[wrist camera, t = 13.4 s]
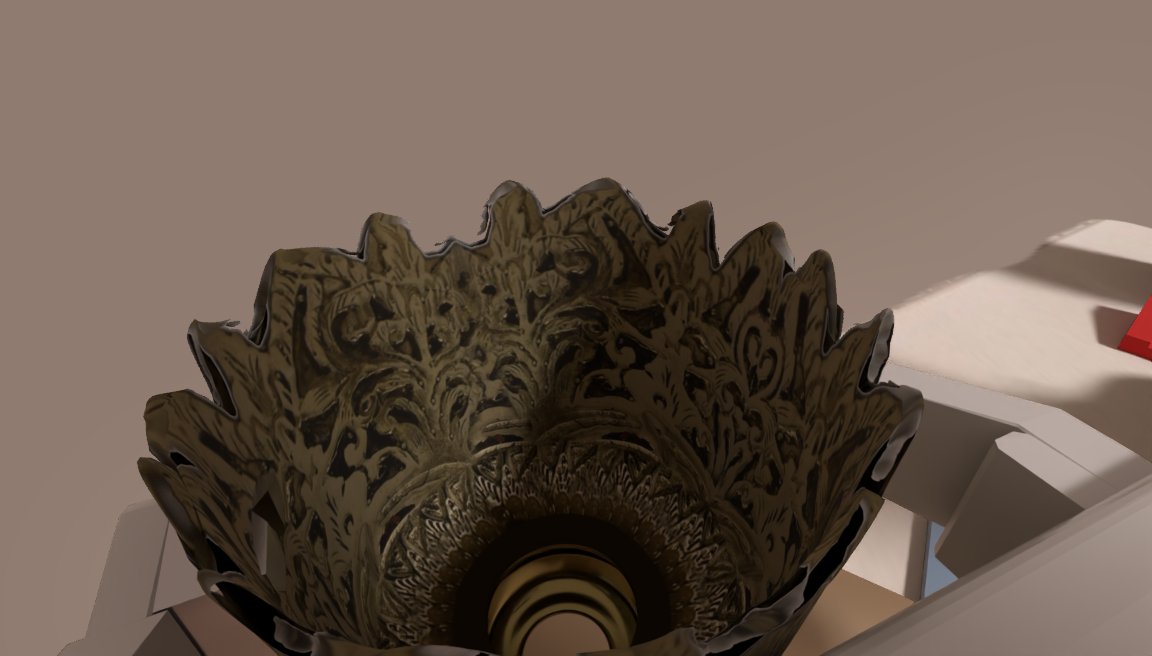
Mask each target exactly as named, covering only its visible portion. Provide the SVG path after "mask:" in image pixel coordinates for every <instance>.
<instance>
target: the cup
mask: <svg viewBox="0 0 1152 656" xmlns="http://www.w3.org/2000/svg"><path fill="white" fill-rule="evenodd" d="M488 206H489V209H490V222H489V226H488V230H487V233H486V236H485V238H484V239H483V240H480V241H477V242H473V243H471V244H468V243H465V242H463V241H460V240H458V239H456V238H454V236H452V235H451V236H448V237H447V238H446V239H445V240H444V241H443V242H442V243H444V242H446V241H447V242H446V243H445V244H444V246H443V247H442V248H441V249H439V250H438V251H430V252H423V251H422V250H421V249H420V247H419V246H418V245H417V244H416V242H415V241H414V240H413V237H412V235H411V230H410V229H409V228H408V227H406V226H405V224H410V222H408V221H407V220H405V219H403V218H401V217H397V216H392V215H387V214H384V213H380V212H378V213H374V214H372V215H370V217H369V218H368V219H367V221H366V222H365V224H364V226H363V228H362V230H361V234H360V239H359V242H358V248H357V252H349V251H347V250H344V249H340V248H329V247H312V248H297V249H290V250H284V249H279V250H277V251H275V252H274V253H272V255H271V256H270V258H269V260H268V262H267V264H266V266H265V269H264V272H263V275H262V278H261V281H260V285H259V288H258V292H257V296H256V300H255V303H254V318H253V322H252V326H251V328H250V331H249V332H248V331H247V330H246V331H245V332H244V333H242V332H241V331H240V330H238V329H229V328H226V327H224V326H225V325H226V326H230V327H234V326H236V325H238V324H239V323H240V321H234V322H229V323H227V322H228V321H229V320H225V321H222V322H216V323H208V322H199V321H197V320H194V321H193V322H192V323H191V325H190V327H189V330H188V334H187V339H188V343H189V346H190V349H191V351H192V353H193V355H194V358H195V360H196V361H197V364H198V366H199V367H200V370H201V372H202V374H203V377H204V378H205V380H206V382H207V384H208V387H209V389H210V392H211V394H212V396H213V400H214V402H212V401H210V400H209V399H207V397H205V396H202V395H200V394H197V393H195V392H194V391H192V390H189V389H185V390H181V391H176V392H170V393H164V394H159V395H155V396H152V397H151V398H150V399H149V400H148V401H147V404H146V409H145V412H144V416H143V417H144V419H145V421H146V436H147V441H148V445H149V450H150V452H151V453H152V454H153V455H154V456H155V457H156V458H157V459H158V460H159V461H160V462H161V463H160V462H158V461H157V460H155V459H152V458H142V457H140V458H139V460H138V462H137V464H138V469H139V472H140V474H141V476H142V479H143V480H144V482H145V484H146V485H147V487H148V489H149V491H150V492H151V494H152V495H153V497H154V499H155V500H156V502H157V504H158V505H159V507H160V508H161V510H162V511H163V513H164V514H165V516H166V517H167V519H168V520H169V522H170V523H171V525H172V526H173V528H174V529H175V531H176V533H177V535H178V537H179V540H180V542H181V544H182V546H183V549H184V551H185V553H186V556H187V558H188V559H189V561H190V562H191V563H192V564H193V566H194V567H196V569H197V570H198V571H197V581H198V582H199V584H200V586H201V589H202V590H203V591H204V593H205V594H206V595H207V596H208V597H209V598H210V599H212V600H213V601H214V602H215V603H216V604H217V605H219V606H220V607H221V608H222V609H223V610H224V611H226V612H227V613H228V614H230V615H231V616H232V617H234V618H235V619H236V620H237V621H239V622H240V623H241V624H243V625H244V626H245V627H246V628H248V629H249V630H250V631H252V632H253V633H254V634H255V635H256V636H258V637H259V638H260V639H261V640H262V641H263V642H264V643H265V644H266V645H267V646H268V647H269V648H271V649H272V650H273V651H274V652H275V653H276V654H277V655H278V656H523V654H524V649H525V645H526V642H527V640H528V638H529V636H530V635H531V633H532V632H533V630H534V629H535V628H536V627H537V626H538V625H539V624H540V623H542V622H543V621H544V620H546V619H548V618H550V617H552V616H555V615H559V614H567V613H569V614H577V615H581V616H583V617H586V618H588V619H590V620H591V621H593V622H594V623H595V624H596V625H597V626H598V627H599V628H600V629H601V631H602V632H603V634H604V635H605V637H606V640H607V642H608V645H609V650H603V651H594V652H583V653H576V656H782V654H783V653H784V651H785V650H786V648H787V647H788V645H789V644H790V643H791V641H792V640H793V638H794V636H795V635H796V633H797V632H798V630H799V629H800V627H801V626H802V624H803V623H804V621H805V620H806V618H807V616H808V615H809V613H810V612H811V610H812V609H813V607H814V606H815V604H816V602H817V601H818V599H819V598H820V596H821V595H822V593H823V591H824V590H825V588H826V587H827V585H829V584H830V583H831V582H832V580H833V579H834V578H835V577H836V576H837V574H838V573H839V571H840V570H841V569H842V567H843V566H844V565H845V563H846V562H847V560H848V559H849V557H850V556H851V554H852V553H853V552H854V550H855V549H856V547H857V546H858V544H859V543H860V542H861V540H862V538H863V537H864V535H865V534H866V532H867V530H868V529H869V527H870V526H871V524H872V523H873V521H874V519H875V518H876V516H877V514H878V512H879V511H880V509H881V507H882V505H883V503H884V501H885V499H883V498H882V496H883V494H884V492H885V490H886V488H887V486H888V484H889V482H890V480H891V478H892V476H893V475H894V473H895V471H896V469H897V467H898V465H899V464H900V462H901V460H902V458H903V456H904V455H905V453H906V451H907V450H908V448H909V446H910V444H911V442H912V440H913V439H914V437H915V435H916V432H917V429H918V427H919V424H920V422H921V419H922V415H923V411H924V406H925V404H924V399H923V395H922V392H921V391H920V390H919V389H916V388H913V387H909V386H907V385H900V386H899V385H897V384H895V383H894V382H892V381H891V380H889V381H888V383H886V382H879V380H880V377H881V374H882V371H883V369H884V367H885V365H886V362H887V360H888V358H889V353H890V342H891V338H892V335H893V328H894V315H893V311H892V310H891V309H890V308H889V309H888V308H887V309H884V310H883V311H882V312H881V313H879V314H877V315H876V316H875V317H874V318H873V319H872V320H871V321H869V322H866V323H863V324H859V323H856V326H855V327H853V328H850V330H848V331H847V332H846V333H845V334H844V335H843V336H842V337H841V332H842V324H843V319H844V318H843V313H844V312H843V309H842V308H841V307H840V306H839V305H838V304H837V294H836V280H835V272H834V267H833V262H832V259H831V256H830V254H829V253H828V252H826V251H824V250H821V249H820V250H817V251H815V252H813V253H812V254H811V255H810V257H809V258H808V260H807V261H806V262H805V264H804V265H803V266H802V267H799V268H798V270H797V271H796V273H795V271H794V261H795V258H794V256H793V254H792V252H791V250H790V248H789V246H788V243H787V240H786V237H785V233H784V230H783V228H782V227H781V226H780V225H779V224H778V223H777V222H769V223H767V224H765V225H763V226H761V227H759V228H757V229H755V230H753V231H751V232H749V233H748V234H746V235H745V236H744V237H743V238H742V239H740V240H739V241H738V242H737V243H736V244H735V245H734V246H733V247H732V248H731V249H730V250H729V251H728V252H727V254H726V255H725V257H724V258H725V259H724V260H723V262H722V263H721V265H720V263H719V255H718V252H717V249H716V243H715V224H714V223H715V222H714V213H713V207H712V204H711V202H710V201H699V202H697V203H695V204H693V205H690V206H688V207H686V208H683V209H680V210H678V212H677V213H676V214H675V215H673V216H672V219H671V222H670V223H669V224H668V225H669V226H674V225H675V226H674V227H673V229H672V231H671V232H670V234H669V235H667V234H665V233H663V232H662V231H667V230H668V229H669V228H667V227H665V228H662V227H660V226H658V225H657V224H655V223H654V222H652V221H651V220H650V219H649V217H648V214H647V212H646V210H645V208H644V206H643V205H642V204H641V202H640V201H639V200H638V199H637V198H635V196H634V195H633V194H632V193H631V192H630V191H629V190H627V189H626V188H625V187H624V186H622V185H621V184H619V183H618V182H616V181H614V180H612V179H610V178H602V179H598V180H595V181H593V182H591V183H589V184H587V185H584V186H582V187H581V188H579V189H577V190H575V191H574V192H572V193H571V194H569V195H567V196H565V197H564V198H562V199H561V200H560V201H558V202H557V203H556V204H554V205H552V206H550V207H547V208H545V209H544V208H543V209H544V210H545V211H543V210H542V207H541V203H540V202H539V200H538V198H537V197H536V195H535V194H534V192H533V191H532V190H531V189H530V188H528V187H527V186H525V185H523V184H520V183H518V182H515V181H511V180H509V181H505V182H503V183H502V184H501V185H499V186H498V187H497V188H496V189H495V191H494V192H493V193H492V194H491V195H490V199H489V200H488V201H487V203H486V204H485V206H484V207H486V208H485V210H484V212H483V214H482V218H483V219H484V220H483V222H482V224H481V226H480V227H481V230H480V231H479V232H478V234H477V235H480V234H482V233H483V232H484V231H485V230H486V227H487V222H488V217H489V215H488ZM654 225H655V226H656V227H655V226H654ZM659 229H660V230H662V231H660V230H659ZM442 243H436V244H435V246H436V245H440V244H442ZM718 250H719V248H718ZM347 254H349V255H357V257H356V258H355V257H352V256H349V255H347ZM854 325H855V324H854ZM840 337H841V338H840ZM878 383H879V384H878ZM270 467H271V468H273V469H275V472H276V475H277V479H278V482H279V485H280V488H281V492H282V495H283V498H284V501H285V530H284V534H283V537H281V536H280V535H279V534H278V533H277V532H276V531H275V530H273V529H272V528H271V527H270V528H271V530H272V532H273V534H274V536H275V538H276V540H277V542H278V544H279V546H280V548H281V550H282V552H283V554H284V556H285V558H286V591H277V590H275V589H274V588H273V587H272V586H271V585H270V584H269V583H268V581H267V580H266V579H265V578H264V577H263V576H262V574H261V572H260V568H259V564H258V560H257V557H256V553H255V549H254V545H253V535H252V523H251V511H252V501H253V491H254V487H255V483H256V479H257V476H258V475H259V474H260V473H261V472H262V471H263V470H264V469H266V468H270ZM255 514H256V513H255ZM234 562H235V563H236V564H237V565H238V567H239V568H240V569H241V570H242V571H243V573H244V574H245V576H246V577H245V576H244V575H242V574H241V573H239V572H238V573H237V572H236V570H235V565H234ZM214 584H215V585H216V586H217V587H218V589H219V590H220V591H221V593H222V594H223V595H221V594H219V593H217V592H213V591H211V587H212V586H213V585H214ZM245 590H247V591H249V592H250V593H252V594H254V595H255V596H257V597H259V598H260V599H262V600H264V601H265V602H267V603H268V604H269V605H271V606H272V607H273V608H274V609H275V610H276V611H277V612H278V613H279V614H280V615H281V616H282V617H283V619H284V620H283V619H280V618H278V617H277V616H275V617H274V619H272V618H271V617H270V616H269V614H268V613H267V612H266V611H265V610H264V609H263V608H262V607H261V606H260V605H259V604H258V603H257V602H256V601H255V600H254V599H253V598H252V597H251V596H250V595H249V594H248V593H247V592H246V591H245ZM309 651H312V653H311V655H308V654H307V653H306V652H309Z"/></svg>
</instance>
